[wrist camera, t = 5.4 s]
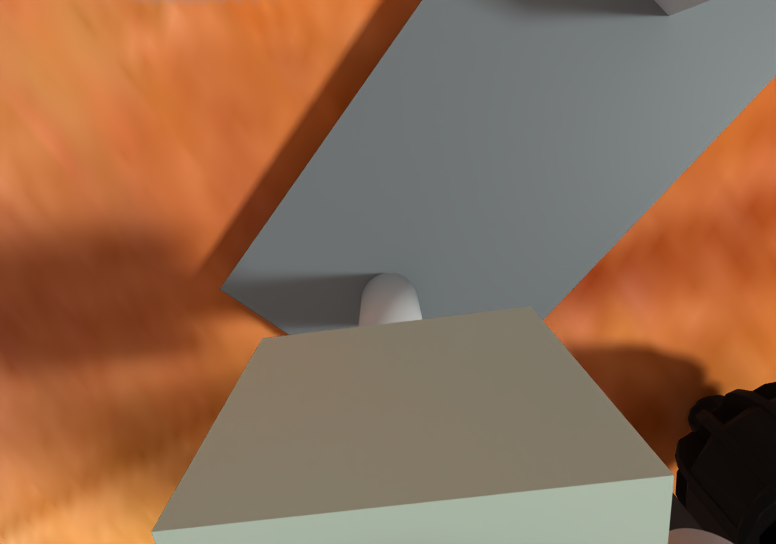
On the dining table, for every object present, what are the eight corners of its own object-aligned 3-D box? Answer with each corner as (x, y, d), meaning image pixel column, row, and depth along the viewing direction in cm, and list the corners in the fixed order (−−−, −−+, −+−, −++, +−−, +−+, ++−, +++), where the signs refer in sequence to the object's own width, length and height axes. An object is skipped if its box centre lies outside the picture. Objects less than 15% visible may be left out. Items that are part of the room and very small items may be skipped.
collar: (530, 306, 10) (674, 475, 5) (536, 517, 12) (644, 789, 7) (262, 338, 10) (151, 532, 5) (309, 542, 12) (260, 823, 7)
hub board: (616, -272, 15) (857, -676, 7) (830, -13, 17) (1171, -119, 10) (230, 277, 20) (146, 363, 13) (433, 412, 23) (459, 548, 15)
